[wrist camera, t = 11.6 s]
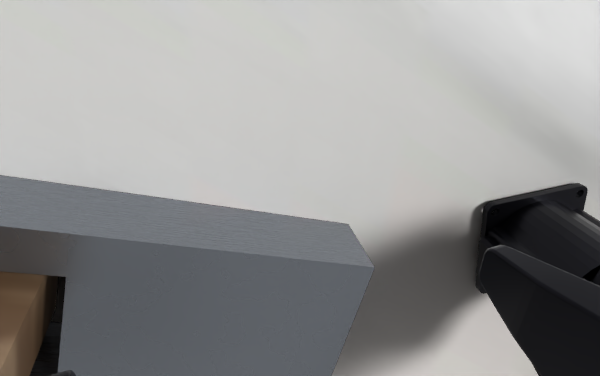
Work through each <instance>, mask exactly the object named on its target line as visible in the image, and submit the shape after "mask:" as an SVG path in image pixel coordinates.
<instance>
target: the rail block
mask: <svg viewBox="0 0 600 376" xmlns="http://www.w3.org/2000/svg"><path fill="white" fill-rule="evenodd" d="M374 268H375V267H374V265H373V264H372V262H371V260H370V259H369V257H368V255H367V254H366V252H365V251H364V249H363V247H362V246H361V244H360V242H359V241H358V239H357V238H356V236H355V234H354V233H353V231H352V229H351V228H350V226H349V225H348V224H343V223H336V222H329V221H322V220H315V219H308V218H301V217H294V216H287V215H280V214H272V213H265V212H258V211H251V210H244V209H237V208H230V207H223V206H216V205H208V204H201V203H194V202H187V201H180V200H173V199H166V198H159V197H152V196H144V195H137V194H130V193H123V192H116V191H109V190H102V189H95V188H88V187H81V186H73V185H66V184H59V183H52V182H45V181H38V180H31V179H24V178H17V177H9V176H2V175H0V271H3V272H15V273H27V274H39V275H51V276H63V277H66V283H65V295H64V306H63V318H62V323H55V322H50V324H49V327H48V329H47V332H46V334H45V337H44V339H43V342H42V345H41V347H40V350H39V352H38V355H37V357H36V360H35V363H34V365H33V368H32V370H31V373H30V375H29V376H50V375H52V374H56V373H59V372H63V371H66V370H72V371H73V372H74V373H75V375H76V376H331V375H332V373H333V370H334V368H335V365H336V363H337V360H338V358H339V355H340V353H341V350H342V348H343V345H344V343H345V340H346V338H347V335H348V333H349V330H350V328H351V326H352V323H353V321H354V318H355V316H356V313H357V311H358V308H359V306H360V303H361V301H362V298H363V296H364V293H365V291H366V288H367V286H368V283H369V281H370V278H371V276H372V273H373V271H374Z"/></svg>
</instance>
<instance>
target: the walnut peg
mask: <svg viewBox="0 0 600 376" xmlns="http://www.w3.org/2000/svg"><path fill="white" fill-rule="evenodd" d="M57 286H58V276H51V275H39V274H27V273H15V272H3V271H0V376H29V375H30V373H31V370H32V368H33V365H34V363H35V360H36V357H37V355H38V352H39V350H40V347H41V345H42V342H43V339H44V337H45V334H46V332H47V329H48V327H49V324H50V321H51V319H52V316H53V314H54V311H55V309H56V300H57Z"/></svg>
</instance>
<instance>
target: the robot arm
mask: <svg viewBox="0 0 600 376" xmlns="http://www.w3.org/2000/svg"><path fill="white" fill-rule="evenodd" d="M586 196H587V188H586V187H585V186H583V185H581V184H580V183H575V184H571V185H566V186H561V187H557V188H552V189H547V190H543V191H538V192H533V193H529V194H524V195H520V196H515V197H510V198H506V199H501V200H496V201H492V202H489V203H488V204H487V205H486V206H485V207H484V210H483V218H482V228H481V238H480V241H479V250H478V260H477V270H476V273H477V278H476V288H477V289H478V290H479V291H480V292H481V293H483V294H484V293H487V294H488V296H489V298H490V299H491V301H492V303H493V304H494V306H495V308H496V309H497V311H498V313H499V314H500V316H501V318H502V319H503V321H504V323H505V324H506V326H507V328H508V329H509V331H510V332H511V334H512V336H513V337H514V339H515V340H516V342H517V343H518V344H519V346H520V347H521V349H522V350H523V351H524V353H525V354H526V356H527V357H528V358H529V360H530V361H531V362H532V364H533V366H534V368H535V370H536V372H537V373H538V375H539V376H600V221H599V220H597V219H595V218H594V217H592V216H591V215H589V214H587V213H586V212H584V211H583V210H584V205H585V201H586ZM493 209H495V210H494V211H493V212H492V210H493ZM50 376H76V375H75V373H74V372H73V371H72V370H66V371H63V372H59V373H56V374H52V375H50Z"/></svg>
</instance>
